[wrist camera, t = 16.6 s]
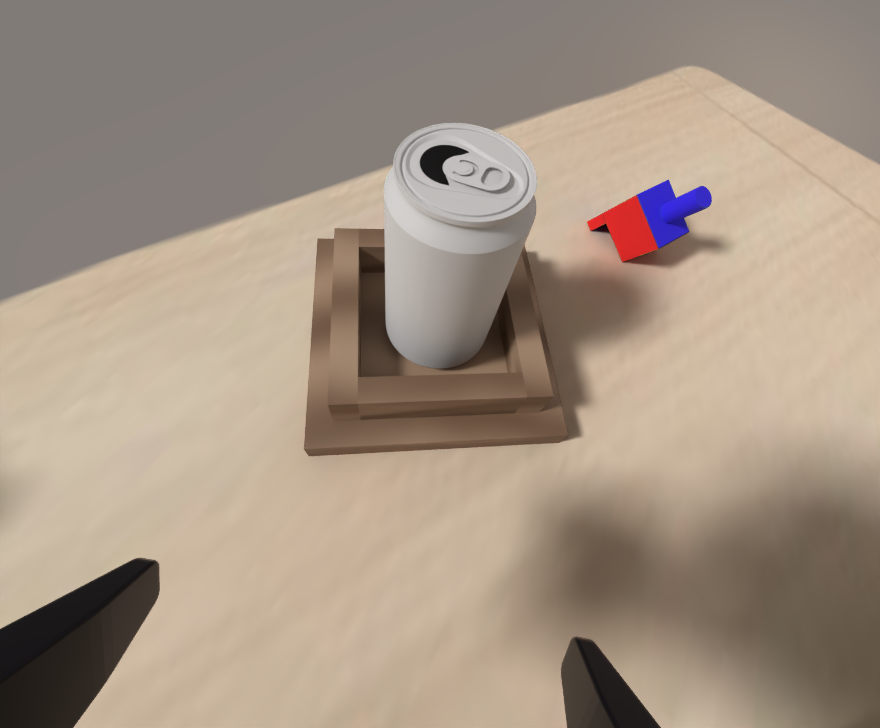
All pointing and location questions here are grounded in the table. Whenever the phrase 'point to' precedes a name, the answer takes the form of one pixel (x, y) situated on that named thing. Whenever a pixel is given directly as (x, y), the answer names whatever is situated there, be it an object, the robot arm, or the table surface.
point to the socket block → (419, 367)
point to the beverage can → (452, 238)
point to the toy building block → (651, 219)
